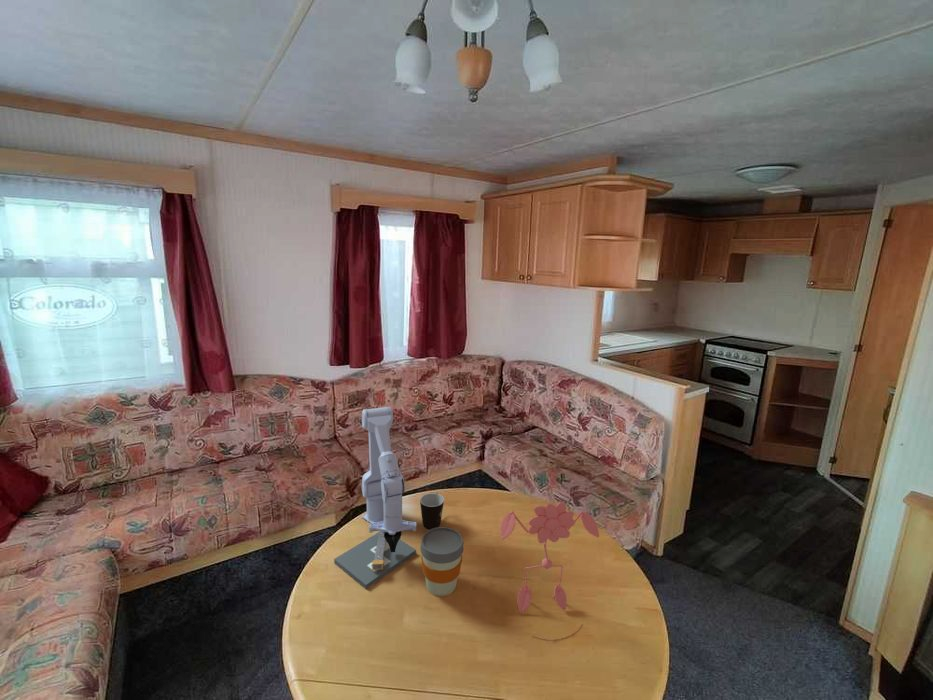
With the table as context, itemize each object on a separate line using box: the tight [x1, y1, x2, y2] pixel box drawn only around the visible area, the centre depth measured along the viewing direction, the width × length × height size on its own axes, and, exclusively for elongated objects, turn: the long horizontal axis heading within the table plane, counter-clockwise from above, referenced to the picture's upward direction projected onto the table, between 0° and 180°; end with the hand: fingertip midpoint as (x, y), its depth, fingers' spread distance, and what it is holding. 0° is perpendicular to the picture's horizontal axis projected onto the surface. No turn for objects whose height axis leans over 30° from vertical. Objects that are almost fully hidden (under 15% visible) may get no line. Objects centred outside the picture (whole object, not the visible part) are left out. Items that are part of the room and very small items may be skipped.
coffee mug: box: [419, 492, 445, 531], centre depth 152 cm, size 12×9×10 cm
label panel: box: [333, 531, 417, 590], centre depth 133 cm, size 20×16×4 cm
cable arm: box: [372, 533, 386, 570], centre depth 133 cm, size 15×3×2 cm, turn 6°
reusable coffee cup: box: [420, 526, 465, 597], centre depth 123 cm, size 13×13×15 cm
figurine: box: [499, 501, 600, 643], centre depth 110 cm, size 15×26×35 cm, turn 93°
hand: (393, 550), depth 133 cm, fingers closed
